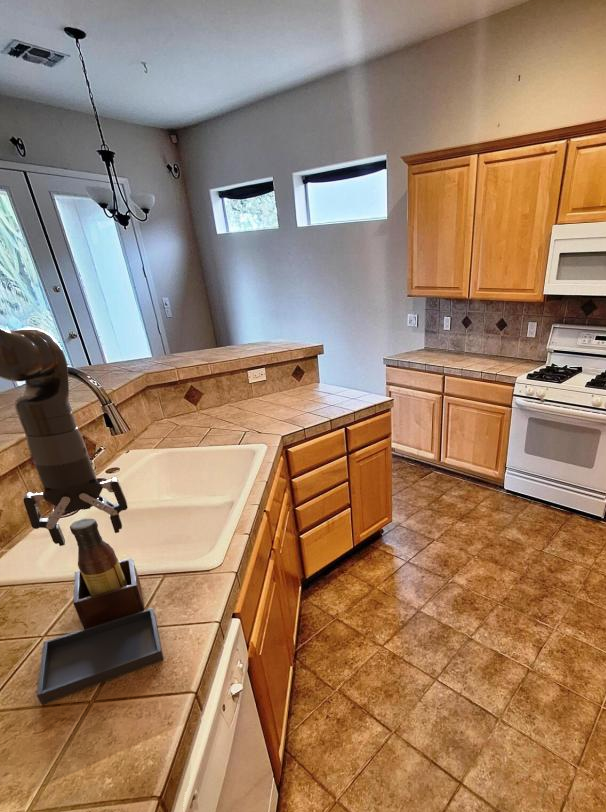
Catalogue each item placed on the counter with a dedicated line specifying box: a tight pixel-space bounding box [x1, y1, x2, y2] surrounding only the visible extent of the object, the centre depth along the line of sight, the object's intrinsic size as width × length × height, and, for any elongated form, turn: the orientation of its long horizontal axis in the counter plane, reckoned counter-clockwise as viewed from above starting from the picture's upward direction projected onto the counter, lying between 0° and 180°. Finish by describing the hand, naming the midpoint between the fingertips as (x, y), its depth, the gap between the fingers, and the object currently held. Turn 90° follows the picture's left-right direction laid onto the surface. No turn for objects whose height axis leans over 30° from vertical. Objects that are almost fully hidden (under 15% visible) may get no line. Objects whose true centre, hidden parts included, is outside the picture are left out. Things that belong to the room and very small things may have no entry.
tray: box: [36, 607, 165, 705], centre depth 75 cm, size 17×13×2 cm
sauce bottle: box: [69, 517, 128, 596], centre depth 83 cm, size 6×6×20 cm
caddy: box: [72, 557, 146, 630], centre depth 86 cm, size 10×11×7 cm
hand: (90, 537), depth 80 cm, fingers open, 8 cm apart
